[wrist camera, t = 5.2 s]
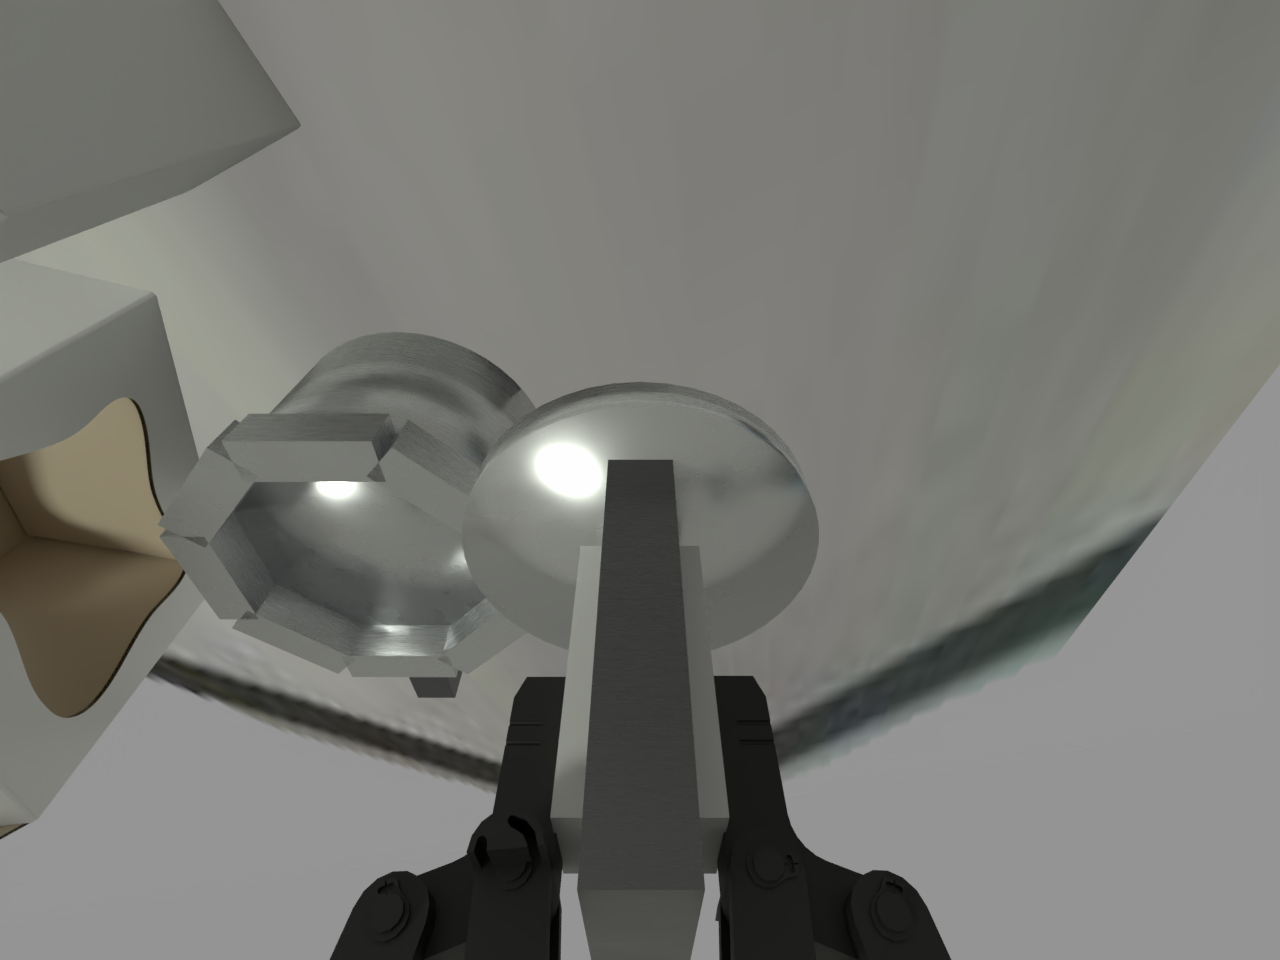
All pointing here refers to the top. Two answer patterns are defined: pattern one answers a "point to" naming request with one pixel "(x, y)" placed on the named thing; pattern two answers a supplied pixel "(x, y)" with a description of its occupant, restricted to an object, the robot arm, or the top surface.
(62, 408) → the gable box
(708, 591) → the lid
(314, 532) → the pot
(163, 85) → the milk carton
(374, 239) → the top surface
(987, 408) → the top surface
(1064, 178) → the top surface
